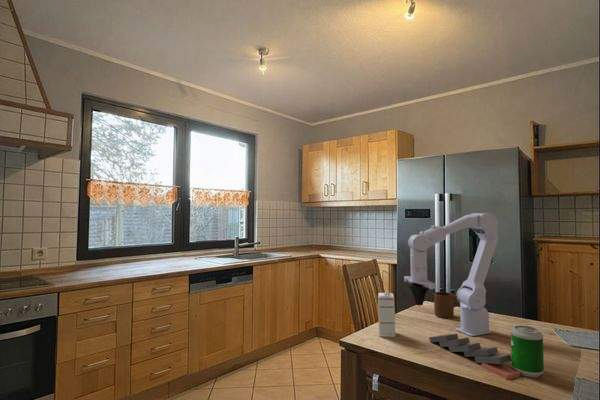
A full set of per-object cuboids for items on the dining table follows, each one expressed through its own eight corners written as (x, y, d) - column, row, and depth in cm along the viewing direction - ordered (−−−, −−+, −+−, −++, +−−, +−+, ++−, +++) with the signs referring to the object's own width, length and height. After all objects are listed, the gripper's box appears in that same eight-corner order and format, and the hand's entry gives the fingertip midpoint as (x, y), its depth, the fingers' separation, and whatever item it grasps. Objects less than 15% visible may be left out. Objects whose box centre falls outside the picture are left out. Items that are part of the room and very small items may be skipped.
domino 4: (473, 348, 112) (496, 347, 106) (474, 353, 111) (498, 352, 105) (463, 351, 109) (486, 350, 103) (464, 356, 109) (488, 355, 103)
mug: (458, 313, 154) (458, 291, 154) (467, 318, 147) (467, 295, 147) (431, 313, 154) (431, 291, 154) (439, 319, 146) (438, 296, 147)
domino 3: (459, 343, 116) (479, 342, 109) (461, 349, 115) (481, 348, 108) (448, 346, 114) (467, 345, 107) (449, 351, 113) (469, 351, 106)
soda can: (550, 376, 96) (549, 331, 97) (530, 381, 94) (529, 335, 94) (524, 364, 103) (523, 323, 104) (505, 368, 101) (504, 326, 101)
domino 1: (440, 335, 124) (456, 333, 117) (441, 340, 123) (458, 338, 116) (428, 337, 122) (445, 335, 115) (430, 342, 121) (446, 341, 114)
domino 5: (485, 353, 108) (509, 354, 101) (486, 359, 107) (511, 360, 100) (474, 356, 105) (498, 357, 99) (475, 362, 105) (500, 364, 98)
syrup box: (395, 337, 126) (395, 296, 126) (378, 336, 127) (378, 295, 127) (394, 332, 131) (394, 292, 132) (378, 331, 133) (377, 292, 133)
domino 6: (494, 360, 104) (519, 372, 97) (494, 366, 104) (520, 378, 97) (481, 363, 102) (506, 375, 95) (481, 369, 102) (506, 381, 95)
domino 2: (450, 339, 119) (468, 337, 113) (451, 344, 119) (470, 342, 112) (439, 342, 117) (456, 340, 111) (440, 347, 117) (458, 345, 110)
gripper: (397, 265, 136) (397, 301, 135) (423, 271, 122) (424, 311, 122) (412, 264, 138) (413, 299, 138) (439, 270, 125) (440, 309, 124)
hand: (419, 304), depth 130 cm, fingers closed
